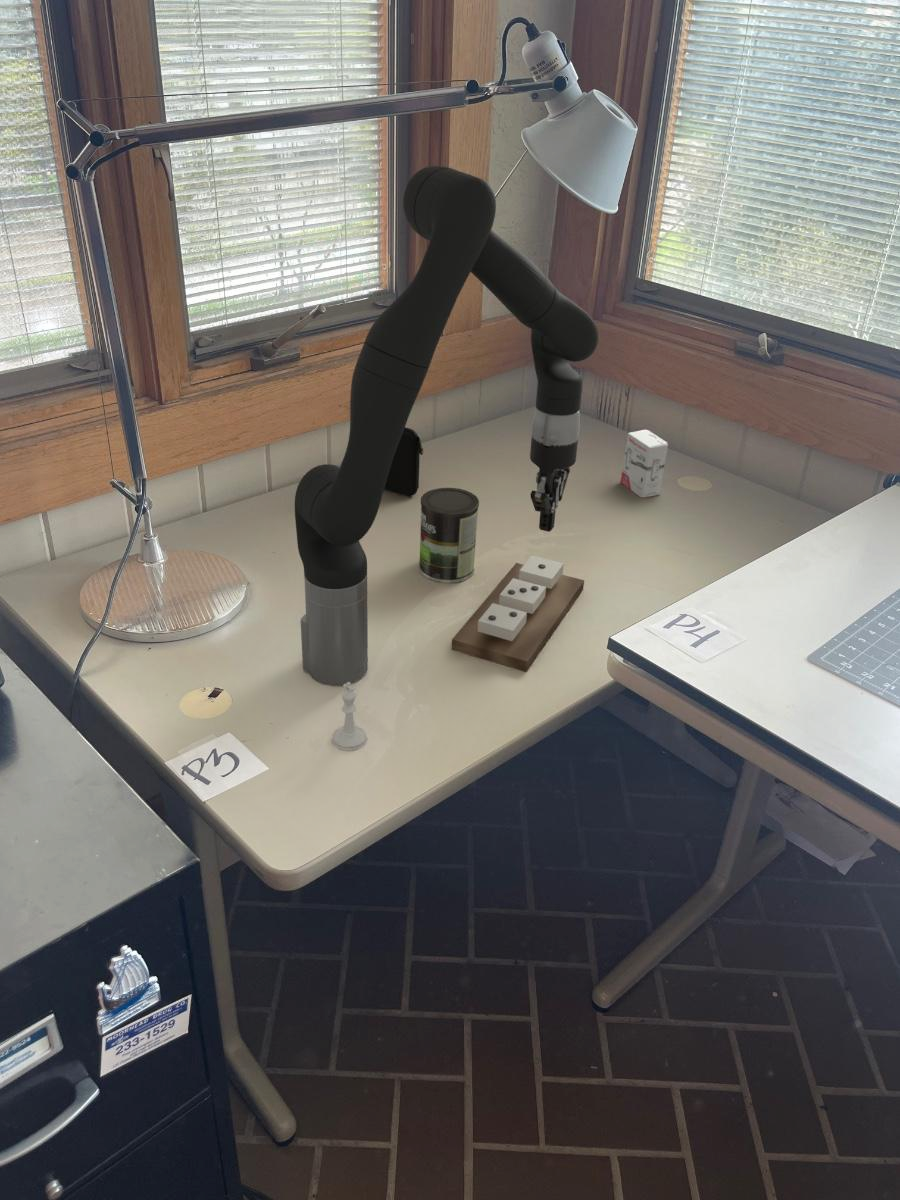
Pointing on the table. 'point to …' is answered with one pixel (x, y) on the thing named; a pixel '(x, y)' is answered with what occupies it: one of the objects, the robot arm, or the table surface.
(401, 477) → the carrying case or bag
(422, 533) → the coffee can
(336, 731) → the chess piece
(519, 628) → the tile two
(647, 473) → the ink box
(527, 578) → the tile one
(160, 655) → the table surface
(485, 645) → the tile board
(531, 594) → the tile three
